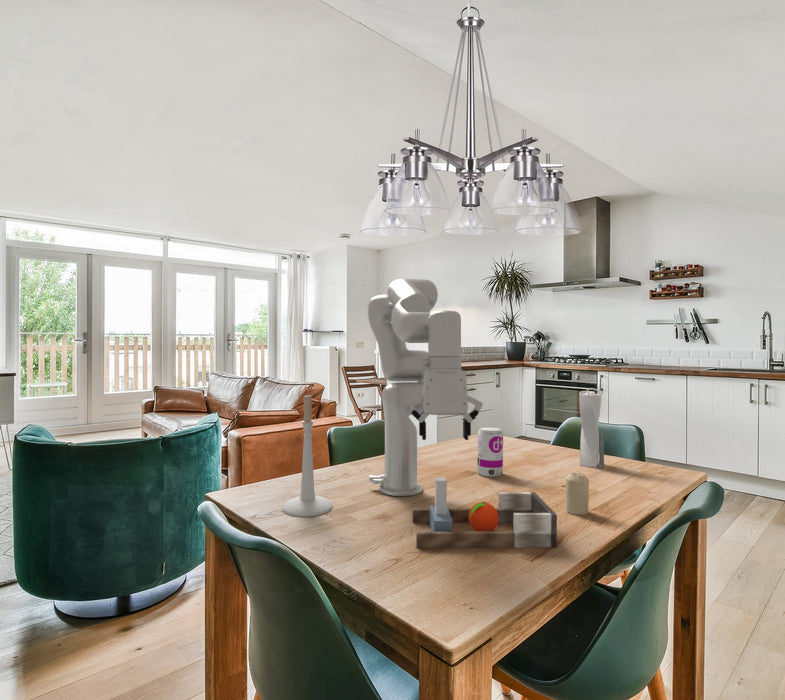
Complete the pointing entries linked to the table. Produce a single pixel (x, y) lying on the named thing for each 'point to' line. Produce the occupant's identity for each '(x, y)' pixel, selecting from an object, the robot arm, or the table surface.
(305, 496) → the candlestick
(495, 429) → the supplement can
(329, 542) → the table surface
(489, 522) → the clementine
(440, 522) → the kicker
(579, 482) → the candle
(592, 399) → the skyscraper
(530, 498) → the frame
